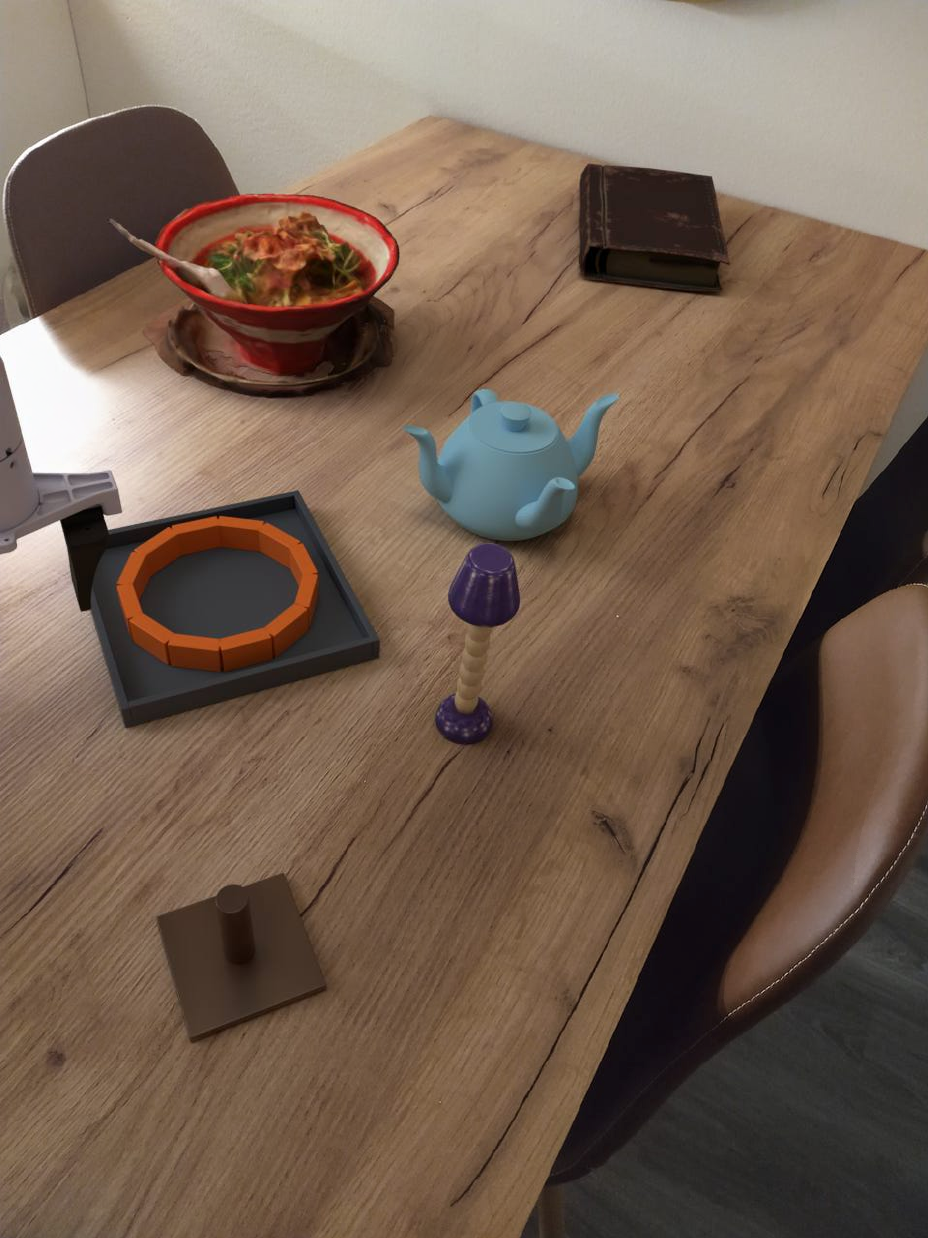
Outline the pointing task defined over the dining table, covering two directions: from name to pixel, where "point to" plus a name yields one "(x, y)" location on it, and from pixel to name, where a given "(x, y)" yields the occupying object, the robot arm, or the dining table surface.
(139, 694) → the tray
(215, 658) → the ring
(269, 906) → the stand
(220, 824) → the dining table surface
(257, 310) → the stew
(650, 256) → the diary
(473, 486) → the teapot
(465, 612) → the toy lamp
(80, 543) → the robot arm
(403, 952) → the dining table surface
